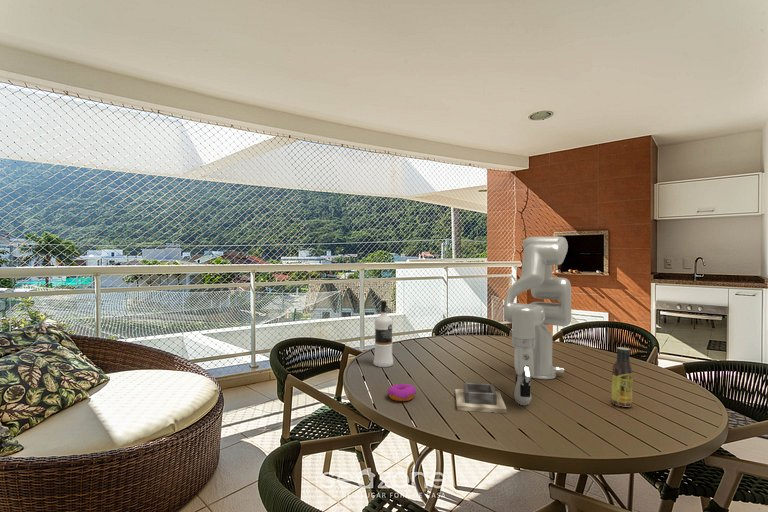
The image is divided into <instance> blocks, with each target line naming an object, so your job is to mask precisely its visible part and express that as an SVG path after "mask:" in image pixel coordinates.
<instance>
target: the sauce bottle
mask: <svg viewBox="0 0 768 512" xmlns="http://www.w3.org/2000/svg"><path fill="white" fill-rule="evenodd" d="M630 354H631V349H630V348H628V347H622V346H621V347H619V346H618V347H616V361H615V362H614V364H613V365H612V373H611V396H610V398H611V401H610V402H611V404H612V403H614V404H617V405H622V406H630V405H631V406H632V405H633V404H632V403H633V387H634V385H633V384H634V372H633V369H632V366H631V359H630Z"/></svg>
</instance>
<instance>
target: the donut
mask: <svg viewBox="0 0 768 512" xmlns="http://www.w3.org/2000/svg"><path fill="white" fill-rule="evenodd" d="M416 389H417V388H416V387H415V386H414V385H412V384H409V383H408V384H407V383H397V384H393V385H392V386H389V388H388V390H387V396H388V397H389V399H391V400H393V401H396V402H407V401H411V400H413V399H414V398H415V395H416V394H417V390H416Z"/></svg>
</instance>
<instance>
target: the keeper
mask: <svg viewBox="0 0 768 512" xmlns="http://www.w3.org/2000/svg"><path fill="white" fill-rule="evenodd" d="M462 388H463V389H461V388H455V389H454V391H455V392H454V394H455V403H456V411H461V412H463V411H465V412H476V411H477V412H478V413H479V412H481V413H491V412H494V414H495V413H496V414H506V413H507V410H508V409H507V407H506V404H505V401H504V400H503V398H502V395H501V392H500V391H496V388H495V387H494V384H492V383H478V382H477V383H474V382H463V387H462ZM477 412H476V413H477Z"/></svg>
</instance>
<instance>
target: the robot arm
mask: <svg viewBox="0 0 768 512" xmlns="http://www.w3.org/2000/svg"><path fill="white" fill-rule="evenodd" d="M522 247H523V257H522V264H521V271H520V277H519V279H517V280H516V281H515V282H514V283H513V284H512V285H511V286H510V287H509V289H508V290H507V293H505V294H506V295H505V299H504V304H503V313H502V314H503V319H504V321H506V322H507V323H509V324H511V328H512V329H511V346H512V348H514V358H513V359H514V360H513V361H514V362H513V363H514V371H515V385H514V386H515V387H516V383H517V378H518V375H519V376H520V377H521V384H520V396H521V397H530V392H531V379H532V378H533V379H538V380H553V379H555V378H557V373H560V374H561V373H563V374H564V373H565V369H564V367H559V366H554V365H553V333H552V332H551V330H550V329H549V328H548V326H556V327H568V326H569V325H570V324H571V322H572V321H571V320H572V284H571V282H570V280H569V279H568V278H565V277H556V276H555V277H554V276H553V266H560V265H561V264H563V263H564V260H565V258H566V257H567V256H566V255H567V253H568V248H569V245H568V241H567V239H566V237H565V236H557V235H556V236H529V237H526V238H525V239H523V240H522ZM528 290H530V292H531V293H530V294H531V296H532V297H533V298H535V299H541V300H553V301H554V300H555V301H556V300H557V301H558V302H548V301H534V302H533V301H532V302H530V303H519V302H515V299H516V298H517V296H519V295H520V294H521V293H524V292H526V291H528ZM522 375H525V376H522ZM523 378H525V379H524V380H523Z"/></svg>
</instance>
